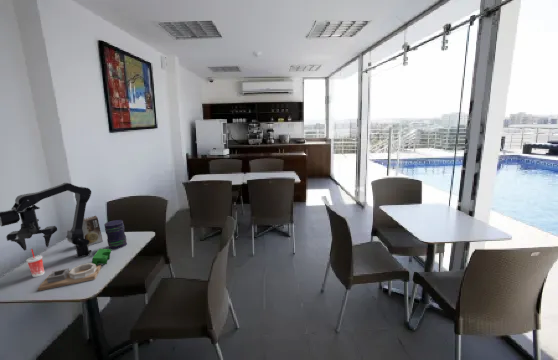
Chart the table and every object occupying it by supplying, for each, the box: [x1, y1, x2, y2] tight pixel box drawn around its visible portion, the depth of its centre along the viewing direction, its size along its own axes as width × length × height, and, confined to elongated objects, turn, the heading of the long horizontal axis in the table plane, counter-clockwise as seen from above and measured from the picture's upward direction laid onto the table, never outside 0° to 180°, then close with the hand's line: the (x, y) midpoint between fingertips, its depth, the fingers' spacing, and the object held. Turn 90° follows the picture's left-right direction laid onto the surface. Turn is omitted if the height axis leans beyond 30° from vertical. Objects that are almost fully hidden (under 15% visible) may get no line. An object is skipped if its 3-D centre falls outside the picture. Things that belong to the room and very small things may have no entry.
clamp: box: [91, 248, 112, 265], centre depth 146 cm, size 12×6×9 cm, turn 12°
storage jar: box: [104, 219, 128, 250], centre depth 165 cm, size 10×10×15 cm
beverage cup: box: [25, 248, 45, 278], centre depth 136 cm, size 6×6×14 cm
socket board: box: [37, 262, 102, 291], centre depth 132 cm, size 12×22×4 cm, turn 110°
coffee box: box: [82, 215, 104, 247], centre depth 172 cm, size 9×6×16 cm
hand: (36, 248), depth 139 cm, fingers open, 9 cm apart
